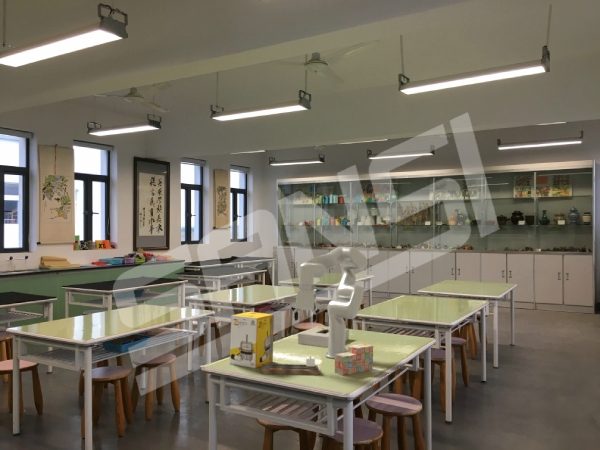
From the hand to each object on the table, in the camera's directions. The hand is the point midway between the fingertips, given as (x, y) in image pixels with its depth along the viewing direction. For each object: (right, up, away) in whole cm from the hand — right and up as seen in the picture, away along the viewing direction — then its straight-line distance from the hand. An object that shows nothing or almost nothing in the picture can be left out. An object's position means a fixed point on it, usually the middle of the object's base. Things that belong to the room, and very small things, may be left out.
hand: (305, 321), depth 249 cm
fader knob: (+2, -21, -10) cm, 23 cm away
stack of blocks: (+24, -24, -6) cm, 35 cm away
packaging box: (-28, -23, +5) cm, 37 cm away
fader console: (-8, -23, -10) cm, 26 cm away
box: (+13, -27, +64) cm, 70 cm away
